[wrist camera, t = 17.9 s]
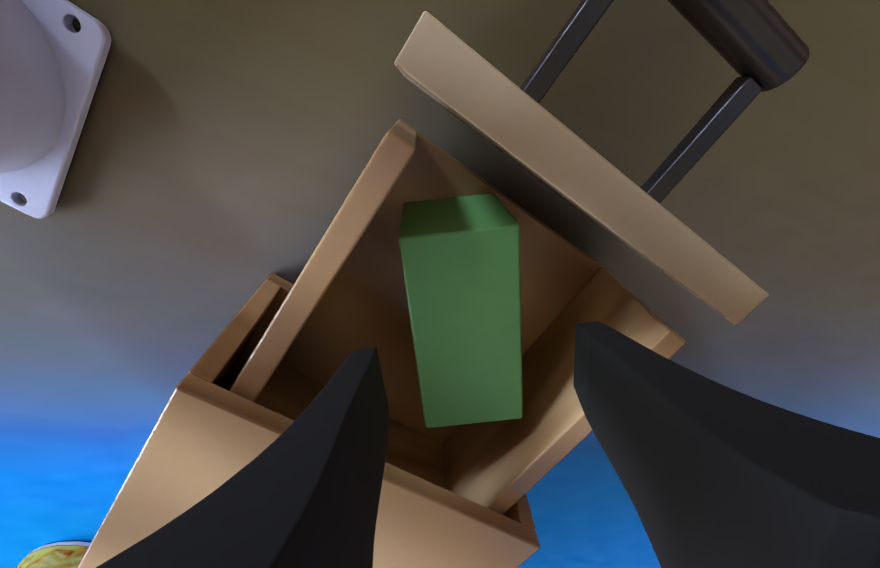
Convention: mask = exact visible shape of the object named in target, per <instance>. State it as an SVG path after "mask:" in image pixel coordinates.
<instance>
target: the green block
mask: <svg viewBox="0 0 880 568" xmlns="http://www.w3.org/2000/svg"><path fill="white" fill-rule="evenodd" d="M399 245H400V252H401V259H402V266H403V273H404V280H405V287H406V294H407V301H408V308H409V315H410V321H411V328H412V335H413V342H414V349H415V356H416V363H417V370H418V377H419V384H420V391H421V398H422V405H423V412H424V419H425V426H426V427H427V428H435V427H445V426H454V425H463V424H473V423H482V422H492V421H501V420H510V419H520V418H522V416H523V400H522V331H521V263H520V226H519V224H518V223H517V221H516V220H515V219H514V218H513V216H512V215H511V214H510V212H509V211H508V210H507V209H506V207H505V206H504V205H503V203H502V202H501V201H500V200H499V198H498V197H497V196H496V194H494V193H490V194H480V195H471V196H461V197H452V198H442V199H433V200H423V201H414V202H405V203H404V206H403V213H402V220H401V227H400V234H399Z"/></svg>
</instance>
